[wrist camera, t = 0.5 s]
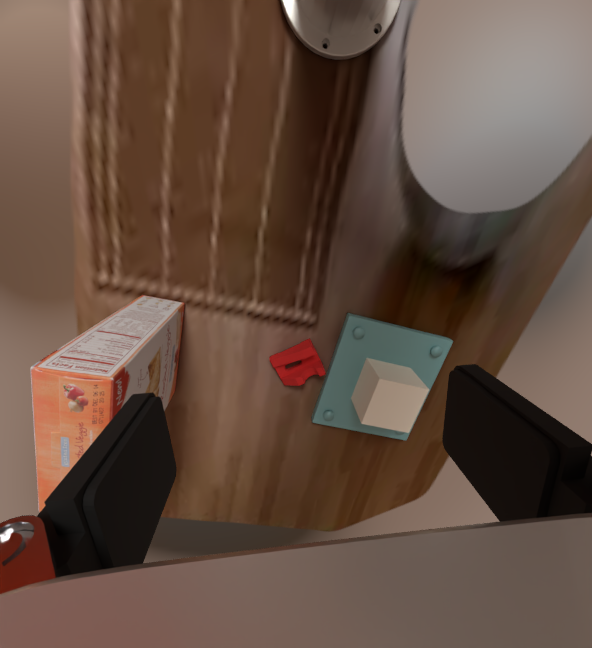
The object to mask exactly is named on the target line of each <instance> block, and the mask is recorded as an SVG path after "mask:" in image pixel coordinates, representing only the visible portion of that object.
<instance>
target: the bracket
mask: <svg viewBox="0 0 592 648" xmlns="http://www.w3.org/2000/svg"><path fill="white" fill-rule="evenodd" d="M298 360H301V363H299V364H297V365H295V366H293V367H290V368H285V366H286V365H288V364H290V363H292V362H295V361H298ZM270 362H271V364H272V365H273V367H274V368H275V369H276V371H277V373H278V375H279V377H280V378H281V380H282V382H283V384H284V385H292V386H300V385H302V384H304V383H305V381H306V379H307V378H308V377H310V376H312V375H316V374H317V375H319V376H323V375H325V374H326V373H325V370H324V366H323V364H322V362H321V360H320V358H319V356H318V354H317V352H316V350H315V348H314V346H313V344H312V342H311V340H310V339H307V340H305V341H303V342H301V343H300V344H298V345H296V346H293V347H291V348H289V349H287V350H285V351H283V352H280V353H277V354H275V355H272V356H270Z"/></svg>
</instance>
